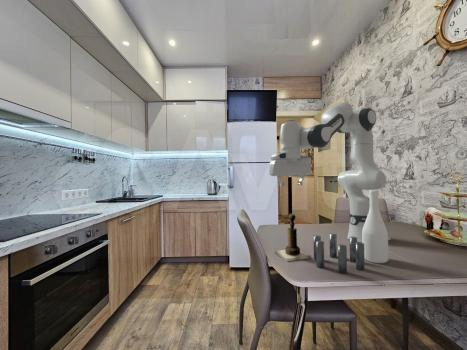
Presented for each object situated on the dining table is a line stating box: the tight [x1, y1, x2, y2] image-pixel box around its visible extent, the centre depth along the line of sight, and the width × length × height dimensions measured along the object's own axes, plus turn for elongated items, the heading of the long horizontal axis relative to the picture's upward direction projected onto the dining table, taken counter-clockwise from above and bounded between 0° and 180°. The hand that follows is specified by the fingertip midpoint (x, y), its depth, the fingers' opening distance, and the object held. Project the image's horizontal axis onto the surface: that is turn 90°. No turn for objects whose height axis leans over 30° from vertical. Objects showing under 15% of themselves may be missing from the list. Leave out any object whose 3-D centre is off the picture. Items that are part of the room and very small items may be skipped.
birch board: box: [274, 249, 312, 262], centre depth 108 cm, size 12×11×1 cm
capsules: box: [313, 233, 366, 275], centre depth 97 cm, size 20×18×10 cm
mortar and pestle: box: [284, 213, 301, 255], centre depth 108 cm, size 7×6×18 cm
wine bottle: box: [361, 189, 389, 264], centre depth 101 cm, size 10×10×30 cm
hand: (291, 185), depth 108 cm, fingers open, 8 cm apart
